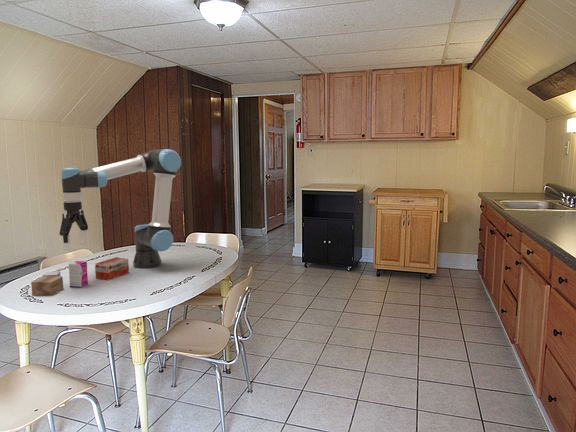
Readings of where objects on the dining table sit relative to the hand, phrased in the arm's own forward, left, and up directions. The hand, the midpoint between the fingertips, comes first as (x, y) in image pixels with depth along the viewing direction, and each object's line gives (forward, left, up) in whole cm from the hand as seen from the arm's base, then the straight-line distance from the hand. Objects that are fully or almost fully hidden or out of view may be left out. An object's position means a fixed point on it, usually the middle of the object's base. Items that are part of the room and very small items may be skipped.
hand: (75, 246), depth 203 cm
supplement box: (-1, 0, -19) cm, 19 cm away
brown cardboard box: (+8, +10, -19) cm, 23 cm away
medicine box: (-9, -18, -19) cm, 27 cm away
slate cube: (+12, 0, -19) cm, 23 cm away
